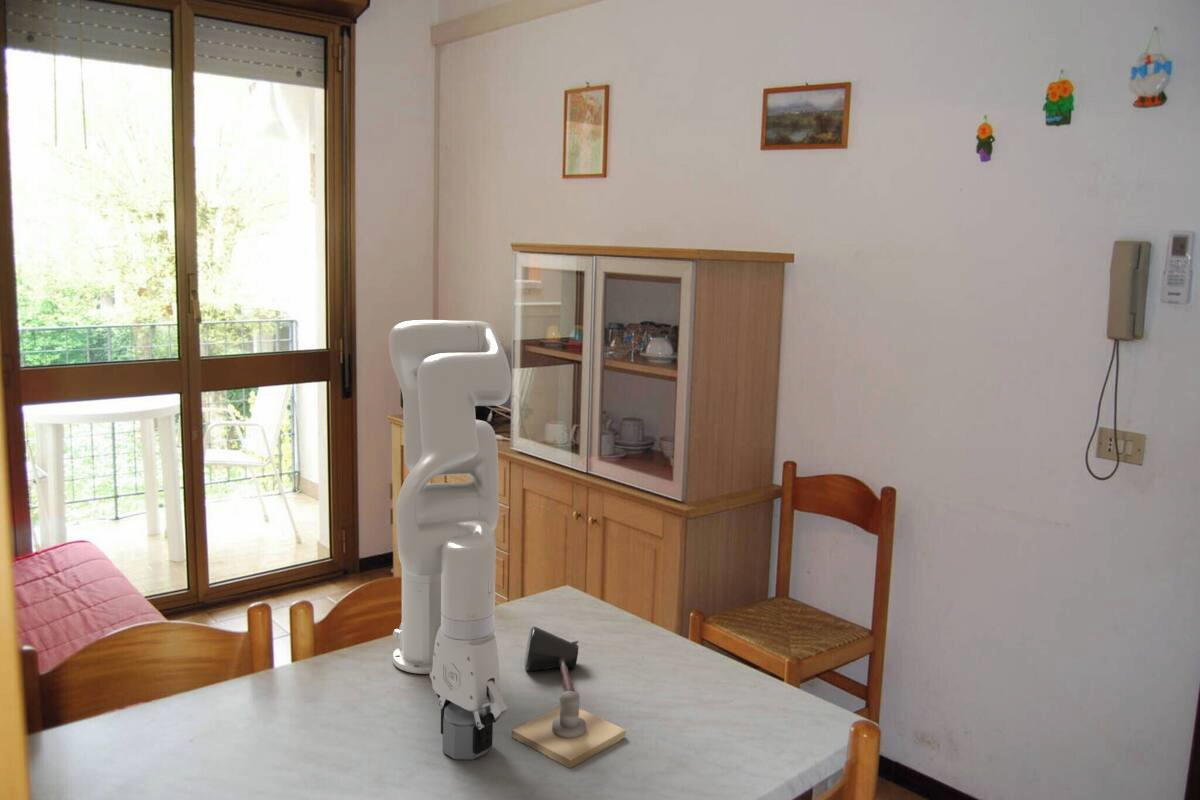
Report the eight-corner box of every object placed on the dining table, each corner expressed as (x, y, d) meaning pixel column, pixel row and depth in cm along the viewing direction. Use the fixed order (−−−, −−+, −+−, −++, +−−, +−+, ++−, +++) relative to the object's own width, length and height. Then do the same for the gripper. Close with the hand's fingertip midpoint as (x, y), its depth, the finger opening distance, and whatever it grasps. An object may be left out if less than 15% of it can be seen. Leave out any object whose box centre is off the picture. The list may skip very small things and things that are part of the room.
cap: (434, 747, 133) (435, 709, 133) (468, 731, 138) (469, 694, 137) (463, 764, 129) (463, 725, 128) (497, 747, 134) (498, 710, 133)
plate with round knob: (511, 737, 137) (512, 695, 136) (567, 709, 146) (568, 670, 145) (570, 768, 129) (571, 723, 128) (625, 737, 138) (627, 695, 137)
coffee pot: (524, 655, 165) (571, 661, 166) (521, 716, 148) (573, 723, 149) (532, 617, 163) (579, 625, 164) (529, 675, 146) (582, 683, 147)
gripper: (408, 613, 134) (408, 728, 136) (488, 650, 122) (486, 774, 125) (449, 599, 139) (448, 710, 142) (529, 634, 128) (526, 753, 131)
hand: (466, 739), depth 134 cm, fingers closed on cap, 6 cm apart
